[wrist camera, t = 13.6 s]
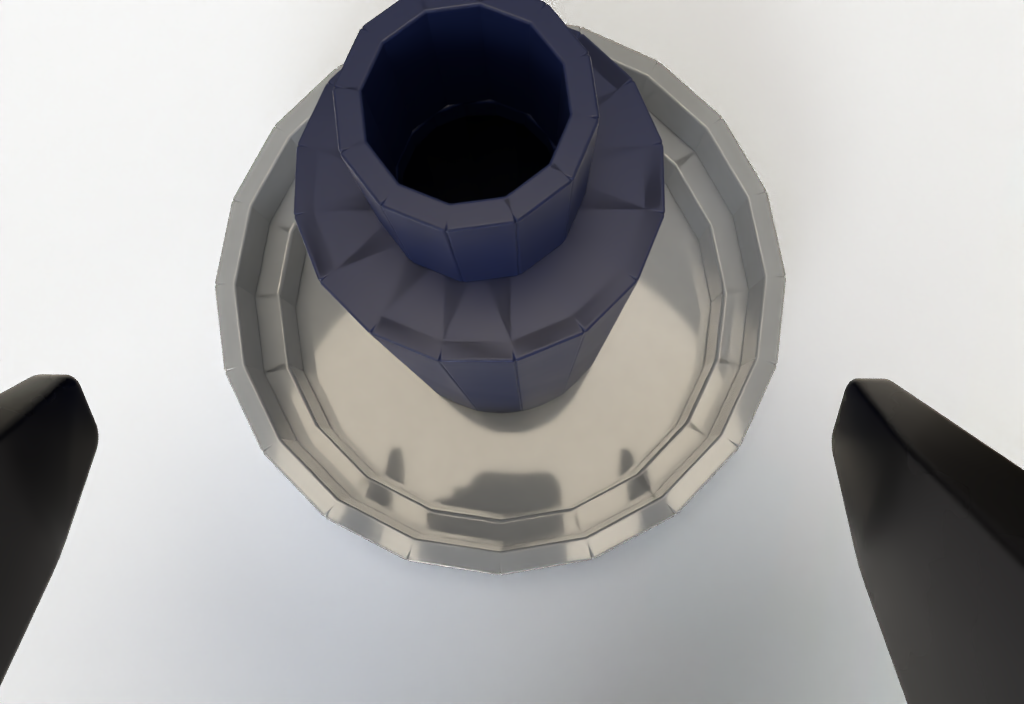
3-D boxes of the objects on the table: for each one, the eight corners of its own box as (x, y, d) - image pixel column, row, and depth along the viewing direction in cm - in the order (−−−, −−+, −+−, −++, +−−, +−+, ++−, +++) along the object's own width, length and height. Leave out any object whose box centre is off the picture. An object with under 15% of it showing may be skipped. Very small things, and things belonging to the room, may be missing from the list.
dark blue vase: (558, 446, 21) (594, 406, 9) (364, 364, 21) (155, 225, 9) (637, 253, 22) (766, -18, 10) (447, 178, 22) (349, -169, 10)
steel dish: (794, 511, 21) (841, 517, 18) (293, 596, 21) (251, 617, 18) (693, 46, 23) (719, -24, 20) (236, 123, 23) (188, 66, 20)
